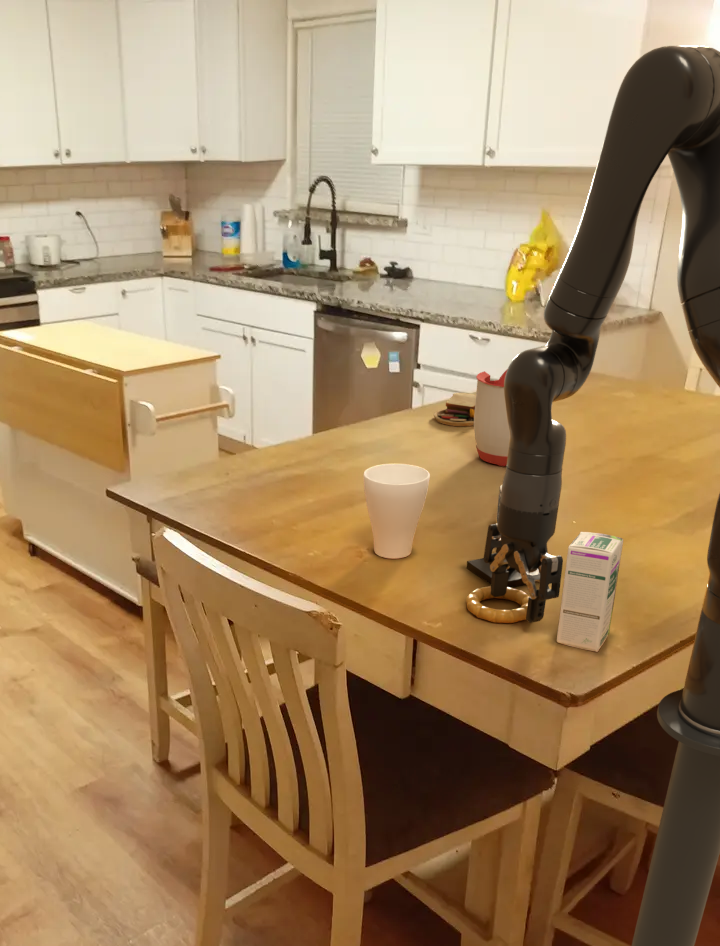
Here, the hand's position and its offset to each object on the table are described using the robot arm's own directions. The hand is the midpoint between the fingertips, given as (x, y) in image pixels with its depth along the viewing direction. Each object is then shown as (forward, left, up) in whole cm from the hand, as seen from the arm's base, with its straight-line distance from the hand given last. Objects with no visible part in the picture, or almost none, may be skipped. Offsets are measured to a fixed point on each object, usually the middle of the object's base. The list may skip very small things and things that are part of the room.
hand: (515, 607), depth 134 cm
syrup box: (-8, -5, -2) cm, 10 cm away
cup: (+29, +4, -2) cm, 29 cm away
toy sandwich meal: (+92, -48, -2) cm, 104 cm away
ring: (+4, 0, -1) cm, 4 cm away
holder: (+14, -8, -2) cm, 16 cm away
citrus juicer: (+63, -41, -2) cm, 75 cm away
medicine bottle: (+28, -20, -2) cm, 34 cm away
